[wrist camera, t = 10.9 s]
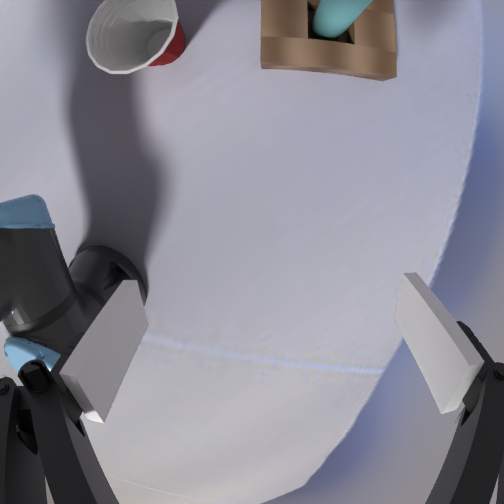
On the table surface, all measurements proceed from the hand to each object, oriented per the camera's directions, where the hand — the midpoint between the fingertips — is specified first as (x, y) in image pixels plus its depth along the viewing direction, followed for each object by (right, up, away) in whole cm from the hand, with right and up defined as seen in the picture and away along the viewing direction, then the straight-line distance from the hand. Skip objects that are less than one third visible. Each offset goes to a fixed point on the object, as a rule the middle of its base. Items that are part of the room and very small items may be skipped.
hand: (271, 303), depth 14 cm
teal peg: (+8, +30, +15) cm, 35 cm away
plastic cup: (-13, +30, +18) cm, 37 cm away
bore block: (+8, +35, +14) cm, 39 cm away
